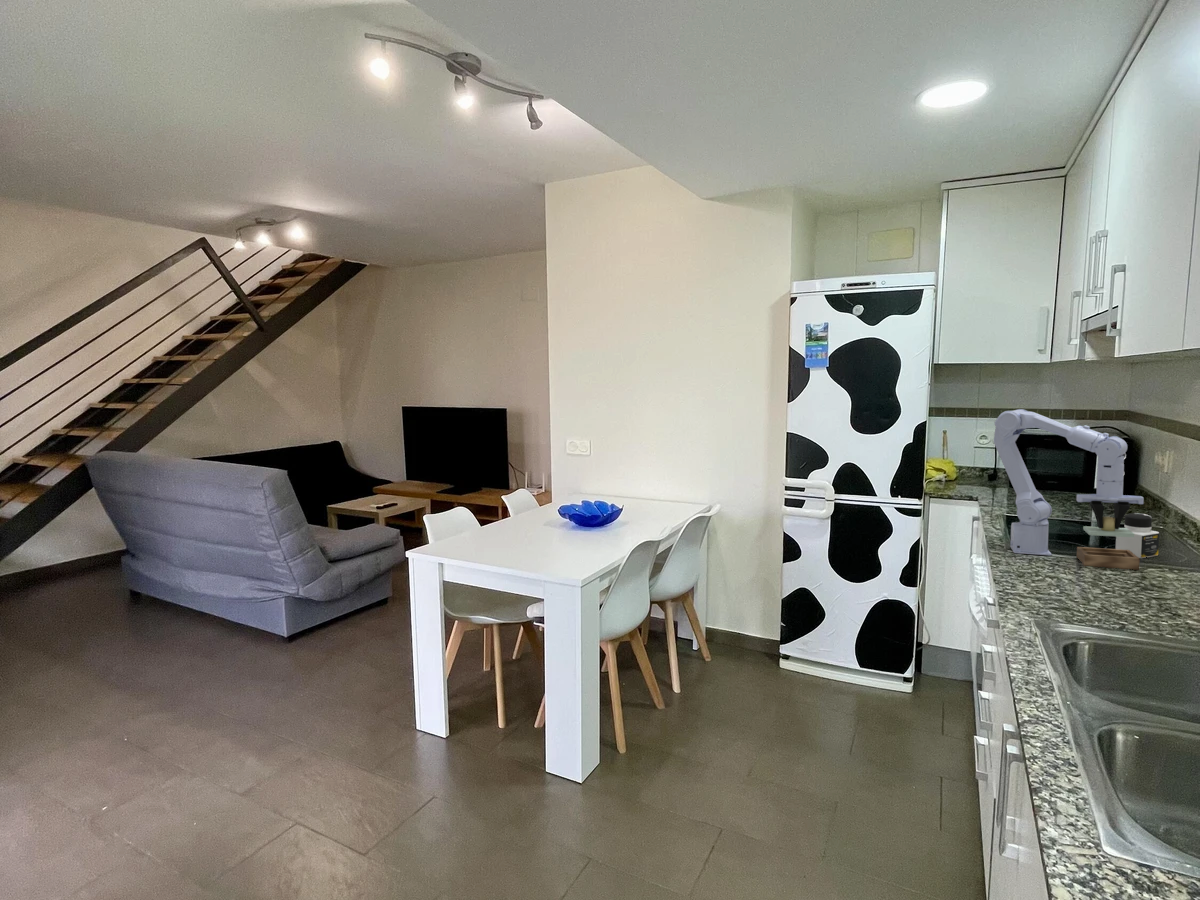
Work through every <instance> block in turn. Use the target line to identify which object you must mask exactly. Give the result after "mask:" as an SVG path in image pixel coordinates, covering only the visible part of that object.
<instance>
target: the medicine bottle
mask: <svg viewBox="0 0 1200 900" xmlns="http://www.w3.org/2000/svg"><path fill="white" fill-rule="evenodd" d="M1152 522H1153V518H1152V516H1151V515H1148V514H1145V513H1137V512H1132V513H1127V514H1125V515H1124V527H1123V528H1127V529H1128V530H1130V531H1131V532H1133V533H1134V537H1118V536H1115V549H1121V550H1130V551H1131V552H1132V553H1133V554H1135V555H1136V556H1137V557H1138V558H1140V559H1147V558H1152V557H1156V556H1159V547H1160V546H1159V545H1160V532H1159V531H1156V530H1152ZM1146 557H1147V558H1146Z"/></svg>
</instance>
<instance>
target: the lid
mask: <svg viewBox="0 0 1200 900" xmlns="http://www.w3.org/2000/svg"><path fill="white" fill-rule="evenodd" d="M1082 528H1083V532H1084V531H1085V533H1086V534H1088V535H1089V536H1098V537H1100V536H1101V537H1102V536H1103V537H1116V536H1118V537H1134V533H1133V532H1131V531H1130V530H1128V529H1127V528H1125V527H1119V529H1115V518H1114V516H1113V517H1112V516H1103V528H1099V527H1098V526H1087V525H1085V526H1083V527H1082Z"/></svg>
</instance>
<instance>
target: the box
mask: <svg viewBox="0 0 1200 900" xmlns="http://www.w3.org/2000/svg"><path fill="white" fill-rule="evenodd" d="M1077 558H1078V559H1079V560H1080V561H1081V562H1082V563H1081V562H1080V561H1079V560H1078V559H1077ZM1076 559H1077V560H1078V561H1079V562H1080V563H1081V565H1083V567H1086V566H1093V567H1092V568H1100V567H1105V568H1104V569H1114V568H1119V569H1118V570H1128V569H1131V570H1132V569H1133V570H1132V571H1140V559H1141V558H1138V557H1137V556H1136V555H1135V554H1133V553H1132V552H1131V551H1130V550H1121V549H1116V548H1101V547H1089V546H1088V547H1087V546H1086V547H1083V546H1077V547H1076ZM1131 570H1130V571H1131Z"/></svg>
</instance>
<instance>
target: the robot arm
mask: <svg viewBox="0 0 1200 900" xmlns="http://www.w3.org/2000/svg"><path fill="white" fill-rule="evenodd" d="M994 427H995V429H994V436H993V445H994V447H995V448H996V449H995V450H996V451H997V453H998V455H999V458H1000V460H1001V463H1002V465H1003V467H1004V469H1005V472H1006V474H1007V476H1008V479H1009V481H1010V483H1011V485H1012V487H1013V490H1014V492H1015V494H1016V498H1015V505H1016V509H1017V511H1016V515H1017V518H1018V520H1019V521H1018V522H1011V526H1010V548H1011V550H1012V553H1014V554H1022V555H1023V554H1027V555H1036V556H1037V555H1039V556H1040V555H1041V556H1052V555H1053V553H1052V552H1051V551H1050V550H1049V526H1050V525H1049V520H1048V519H1049V518H1050V517H1051V515H1052V514H1053V513H1052V512H1053V508H1052V505H1051V504H1050V503H1049V502H1048V501H1046V500H1045V498H1044V496H1043V494H1042V493H1040V492H1039V491H1038V489H1036V486H1035V484H1034V482H1033V479H1032V478H1031V475H1030V473H1029V471H1028V469H1027V466H1026V464H1025V462H1024V460H1023V457H1022V455H1021V452H1020V451H1019V448H1018V446H1017V443H1016V442H1017V440H1018V438H1019V437H1020V435H1021V433H1022V432H1024V431H1025V430H1026V429H1035V428H1037V429H1039V430H1043V431H1046V432H1049V433H1052V434H1054V435H1058V436H1060V437H1063V438H1065V439H1066V440H1067V442H1068V443H1069V444H1070V445H1072V446H1074V447H1078V448H1080V449H1083V450H1085V451H1089V452H1091V453H1095V454H1096V456H1097V472H1096V475H1097V476H1096V493H1087V494H1086V493H1085V494H1084V493H1083V494H1081V493H1080V494H1078V493H1077V494H1076V502H1077V503H1088V504H1089V505H1090V508H1091V509H1092V511H1093V513H1094V517H1095V520H1096V523H1097V524H1096V525H1097V526H1096V527H1099V528H1103V517H1104V510H1105V506H1104V504H1105V503H1106V504H1107V503H1113V509H1114V510H1113V511H1114V512H1113V513H1114V516H1113V517H1114V518H1115V529H1119V528H1120V526H1121V523H1122V521H1123V519H1124V518H1125V515H1127V514H1126V513H1128V511H1129V510H1130V508H1131V504H1134V505H1135V504H1137V505H1144V501H1145V500H1144V497H1143V496H1141V495H1128V494H1127V495H1126V494H1125V495H1124V476H1125V474H1124V472H1125V464H1124V463H1125V453H1126V452H1127V451H1128V444H1127V442H1126V441H1125V440H1124V439H1123V438H1121V437H1119V436H1116V435H1113V436H1109V435H1110V434H1109V433H1107V432H1103V433H1102V432H1099V431H1097V430H1094V429H1091V426H1089V425H1086V424H1085V425H1077V426H1073V427H1072V426H1070V425H1067V424H1065V423H1063V422H1059V421H1058V420H1055V419H1052V418H1049V417H1047V416H1044V415H1042V414H1039V413H1037V412H1034V411H1029V410H1026V409H1022V408H1018V409H1015V410H1005V411H1003V412H1001V413H1000V414H999V416H997V418H996V420H995V421H994ZM1103 503H1104V504H1103Z"/></svg>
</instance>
